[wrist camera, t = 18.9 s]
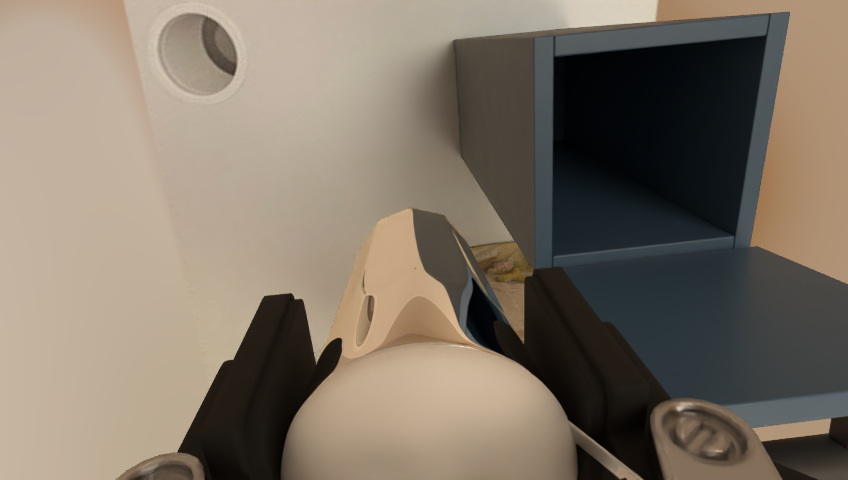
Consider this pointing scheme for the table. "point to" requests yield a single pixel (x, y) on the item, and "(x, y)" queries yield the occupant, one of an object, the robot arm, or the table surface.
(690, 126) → the box
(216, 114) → the table surface
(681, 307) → the freezer lid
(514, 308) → the ceramic model
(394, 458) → the milkshake
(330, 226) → the table surface
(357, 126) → the table surface
